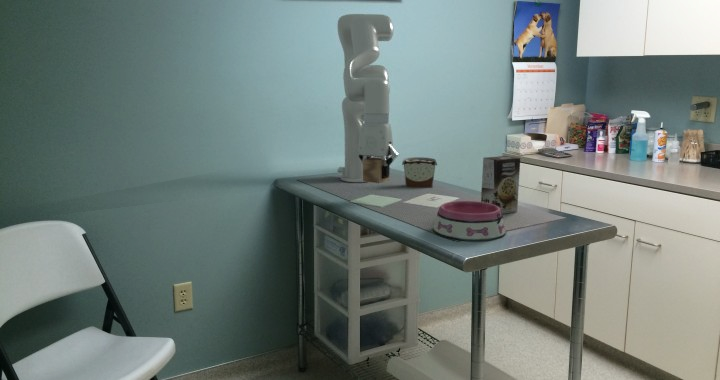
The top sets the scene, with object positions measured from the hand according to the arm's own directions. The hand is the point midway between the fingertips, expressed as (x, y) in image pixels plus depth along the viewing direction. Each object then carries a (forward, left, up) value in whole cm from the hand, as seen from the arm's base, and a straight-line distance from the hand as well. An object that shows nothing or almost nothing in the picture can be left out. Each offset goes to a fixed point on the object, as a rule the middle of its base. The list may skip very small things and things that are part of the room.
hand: (376, 176), depth 184 cm
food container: (-1, +29, -8) cm, 30 cm away
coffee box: (+37, +10, -8) cm, 39 cm away
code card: (+14, +11, -8) cm, 20 cm away
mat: (0, 0, -8) cm, 8 cm away
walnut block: (0, 0, -1) cm, 1 cm away
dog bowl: (+39, -14, -9) cm, 42 cm away
